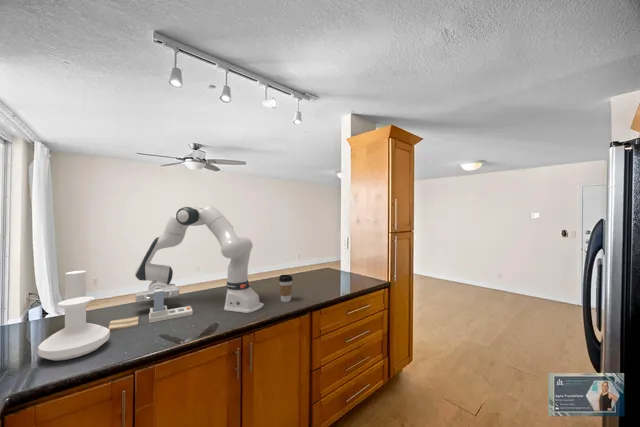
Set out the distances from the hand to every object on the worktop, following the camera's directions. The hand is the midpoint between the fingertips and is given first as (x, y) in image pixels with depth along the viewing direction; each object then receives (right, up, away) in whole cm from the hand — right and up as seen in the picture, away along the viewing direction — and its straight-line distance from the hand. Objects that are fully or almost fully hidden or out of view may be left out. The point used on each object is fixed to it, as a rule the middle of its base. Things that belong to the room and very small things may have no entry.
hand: (158, 297), depth 136 cm
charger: (+3, -7, -4) cm, 8 cm away
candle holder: (-9, -9, -37) cm, 39 cm away
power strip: (+7, -9, -1) cm, 11 cm away
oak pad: (-9, -9, -12) cm, 17 cm away
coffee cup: (+63, -10, +24) cm, 68 cm away
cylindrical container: (-31, -9, -13) cm, 35 cm away
